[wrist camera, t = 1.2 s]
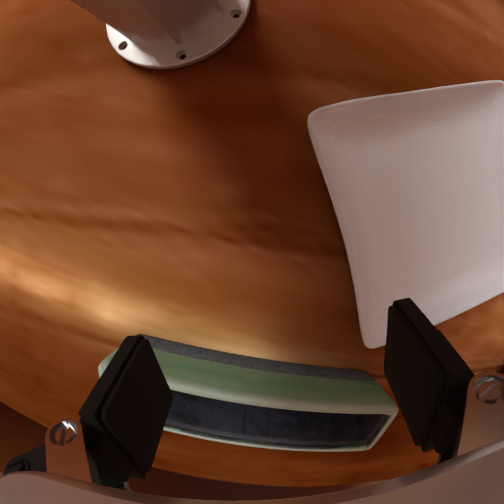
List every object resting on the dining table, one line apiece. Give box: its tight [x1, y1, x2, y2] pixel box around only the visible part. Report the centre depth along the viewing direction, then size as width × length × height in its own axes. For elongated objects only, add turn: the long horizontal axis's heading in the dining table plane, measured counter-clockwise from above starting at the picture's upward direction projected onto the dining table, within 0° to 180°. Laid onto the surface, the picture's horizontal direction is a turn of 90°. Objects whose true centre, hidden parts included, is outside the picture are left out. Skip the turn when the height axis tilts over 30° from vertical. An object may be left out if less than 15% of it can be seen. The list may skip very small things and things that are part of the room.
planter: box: [98, 334, 398, 452], centre depth 27 cm, size 28×7×7 cm, turn 79°
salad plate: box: [307, 80, 504, 349], centre depth 22 cm, size 21×21×3 cm
